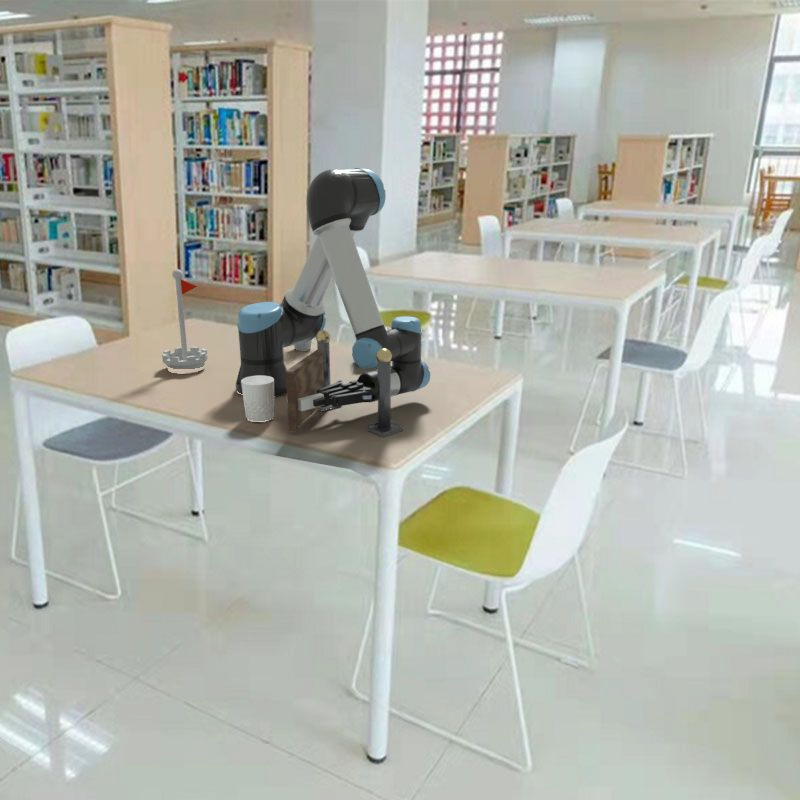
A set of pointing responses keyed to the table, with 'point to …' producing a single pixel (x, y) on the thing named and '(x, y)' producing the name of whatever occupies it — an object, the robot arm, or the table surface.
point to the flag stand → (183, 335)
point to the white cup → (258, 397)
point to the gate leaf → (303, 386)
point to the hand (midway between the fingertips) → (299, 405)
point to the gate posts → (384, 386)
